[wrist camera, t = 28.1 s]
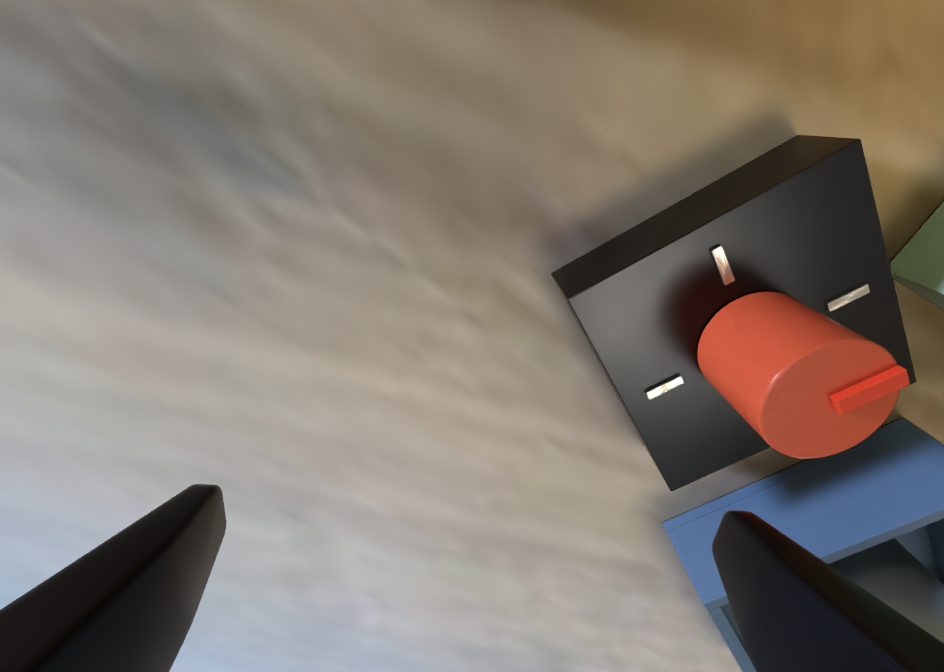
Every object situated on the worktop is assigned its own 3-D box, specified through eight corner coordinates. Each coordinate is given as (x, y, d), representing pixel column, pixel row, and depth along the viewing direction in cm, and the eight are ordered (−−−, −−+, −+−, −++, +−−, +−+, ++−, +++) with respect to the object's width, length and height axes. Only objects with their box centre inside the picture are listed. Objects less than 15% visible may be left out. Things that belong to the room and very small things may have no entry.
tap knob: (716, 408, 19) (786, 486, 15) (680, 326, 17) (747, 388, 13) (820, 359, 18) (922, 428, 14) (792, 269, 17) (897, 318, 13)
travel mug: (819, 486, 24) (1107, 778, 13) (914, 535, 25) (1236, 830, 15) (722, 576, 26) (902, 885, 16) (814, 616, 28) (1033, 920, 17)
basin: (661, 522, 25) (703, 604, 21) (903, 416, 23) (1004, 484, 19) (734, 650, 30) (781, 738, 26) (942, 572, 28) (1030, 654, 23)
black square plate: (550, 273, 19) (567, 301, 17) (798, 134, 18) (865, 138, 15) (645, 447, 23) (672, 494, 20) (857, 347, 21) (920, 384, 19)
